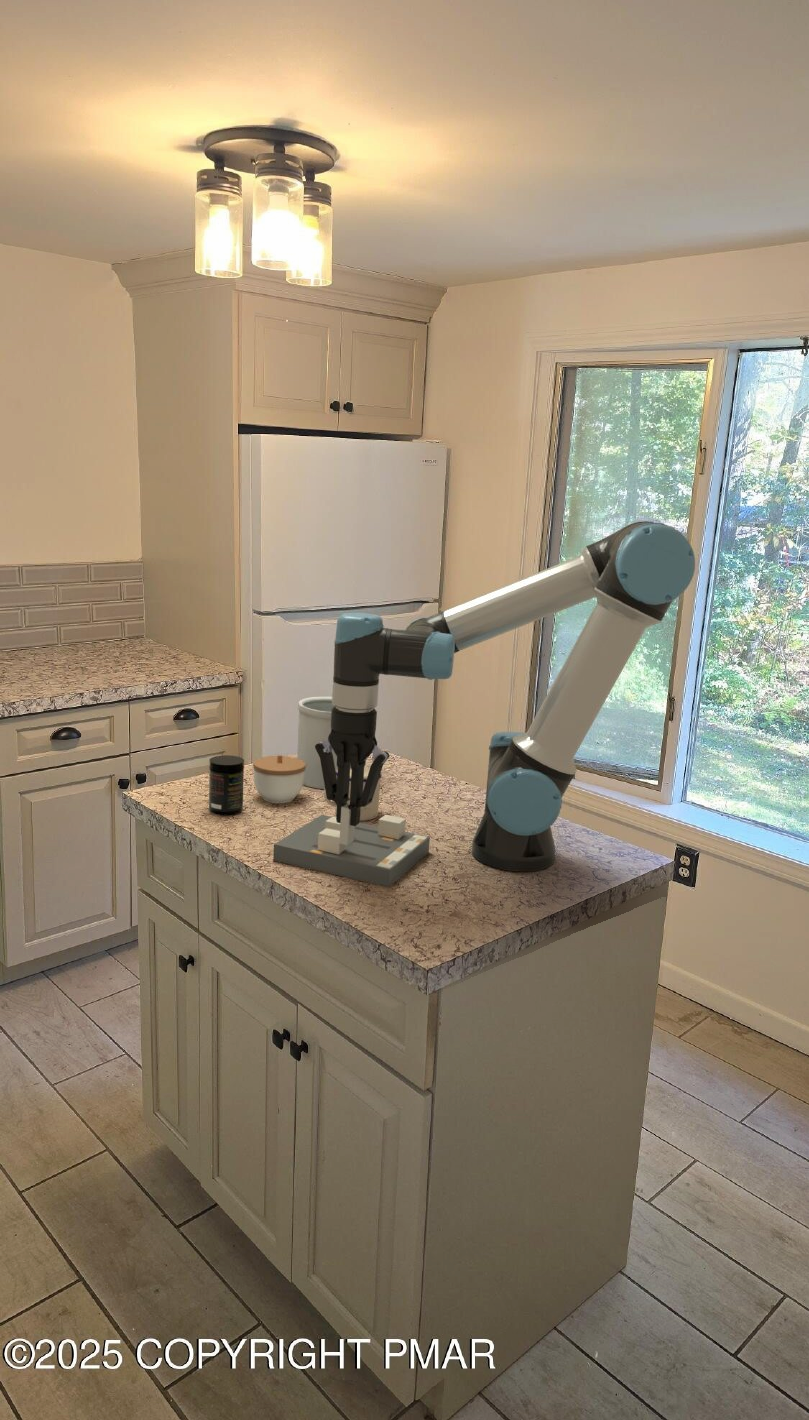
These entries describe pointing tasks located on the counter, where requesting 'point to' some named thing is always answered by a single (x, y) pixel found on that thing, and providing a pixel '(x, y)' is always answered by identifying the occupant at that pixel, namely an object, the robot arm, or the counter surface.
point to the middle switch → (332, 824)
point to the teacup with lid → (370, 809)
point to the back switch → (391, 826)
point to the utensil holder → (314, 737)
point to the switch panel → (354, 853)
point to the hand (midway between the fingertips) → (346, 841)
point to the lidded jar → (279, 778)
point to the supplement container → (226, 784)
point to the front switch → (330, 841)
